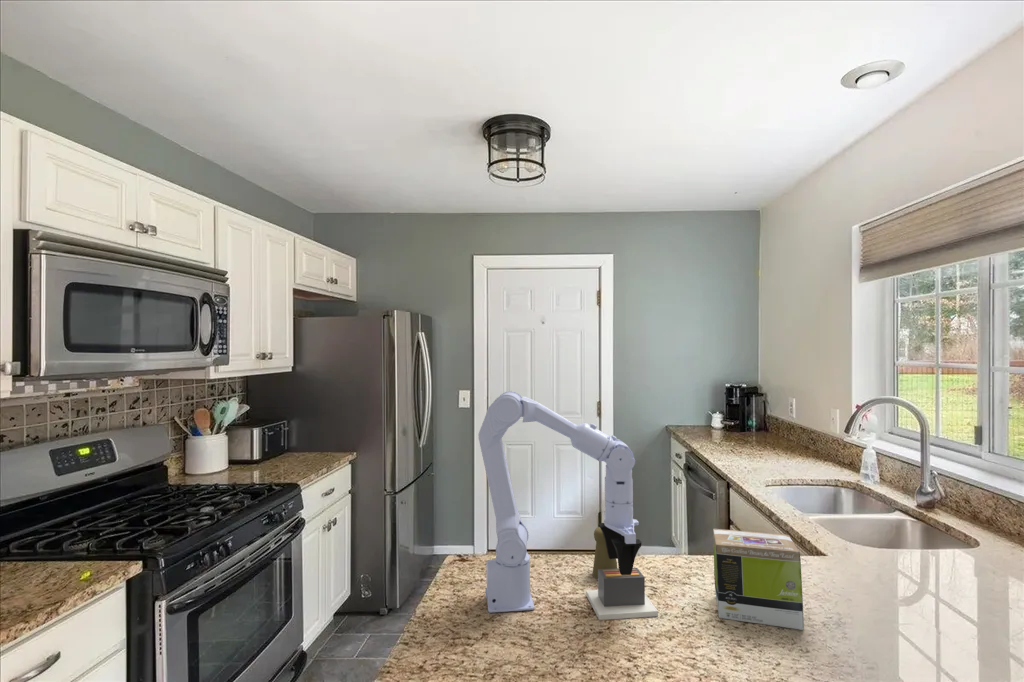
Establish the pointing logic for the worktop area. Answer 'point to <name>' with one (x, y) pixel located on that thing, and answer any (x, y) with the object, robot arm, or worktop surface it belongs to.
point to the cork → (601, 554)
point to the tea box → (758, 578)
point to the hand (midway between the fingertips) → (619, 565)
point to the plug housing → (621, 587)
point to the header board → (620, 608)
